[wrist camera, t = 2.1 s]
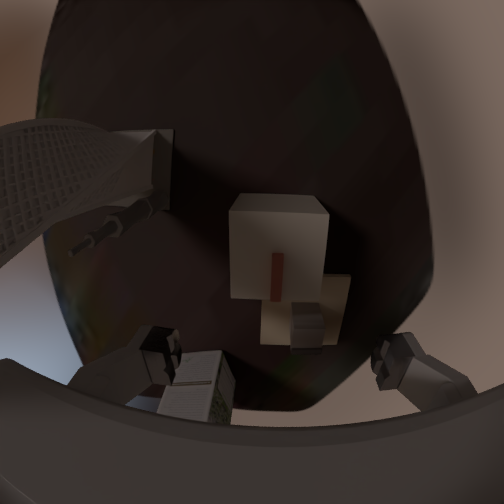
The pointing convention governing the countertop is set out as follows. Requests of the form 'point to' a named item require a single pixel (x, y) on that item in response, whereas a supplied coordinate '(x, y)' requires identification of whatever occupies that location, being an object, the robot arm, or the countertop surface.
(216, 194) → the countertop surface
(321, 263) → the knob
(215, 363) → the syrup box
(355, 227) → the countertop surface
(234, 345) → the countertop surface
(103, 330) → the countertop surface
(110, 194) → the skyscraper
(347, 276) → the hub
